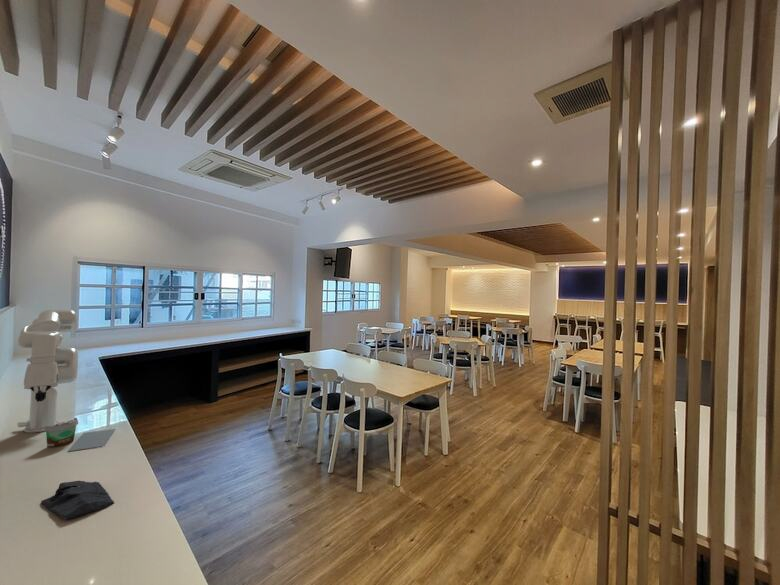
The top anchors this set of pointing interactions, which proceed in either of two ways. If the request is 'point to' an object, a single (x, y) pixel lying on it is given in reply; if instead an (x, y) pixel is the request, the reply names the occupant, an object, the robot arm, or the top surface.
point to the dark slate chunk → (78, 499)
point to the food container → (61, 433)
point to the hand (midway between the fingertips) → (40, 400)
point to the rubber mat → (92, 440)
